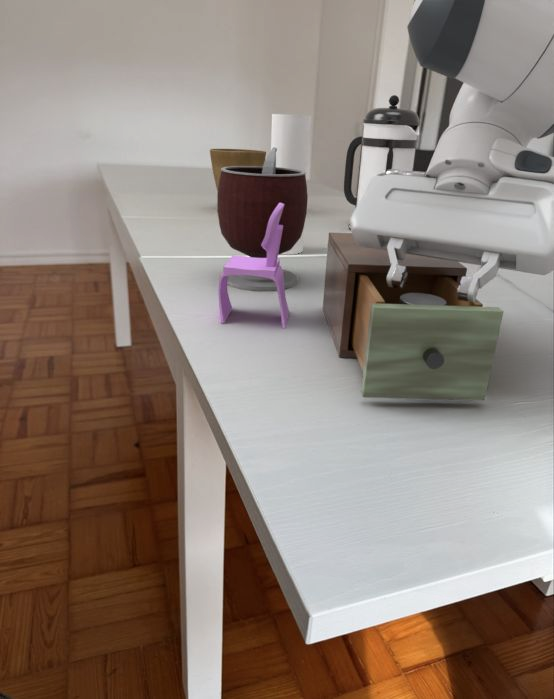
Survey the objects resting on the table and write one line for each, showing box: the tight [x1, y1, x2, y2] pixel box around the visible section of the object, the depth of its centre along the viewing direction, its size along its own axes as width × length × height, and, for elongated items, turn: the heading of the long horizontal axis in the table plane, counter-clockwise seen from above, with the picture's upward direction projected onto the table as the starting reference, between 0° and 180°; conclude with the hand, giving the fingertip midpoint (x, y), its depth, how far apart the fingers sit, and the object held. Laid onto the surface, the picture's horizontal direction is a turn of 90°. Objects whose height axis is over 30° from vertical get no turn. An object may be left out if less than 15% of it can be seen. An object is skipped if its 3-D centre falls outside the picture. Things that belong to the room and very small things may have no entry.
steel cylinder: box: [399, 293, 446, 306], centre depth 54 cm, size 4×4×7 cm
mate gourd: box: [216, 147, 309, 292], centre depth 86 cm, size 16×14×20 cm
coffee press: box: [343, 94, 422, 230], centre depth 128 cm, size 17×16×30 cm
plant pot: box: [209, 148, 267, 192], centre depth 147 cm, size 15×15×16 cm
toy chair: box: [217, 203, 290, 329], centre depth 70 cm, size 8×9×15 cm
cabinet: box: [322, 232, 468, 359], centre depth 68 cm, size 17×13×11 cm
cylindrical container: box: [270, 113, 312, 256], centre depth 105 cm, size 7×7×25 cm
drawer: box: [349, 272, 504, 401], centre depth 56 cm, size 17×12×9 cm
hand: (428, 291), depth 52 cm, fingers open, 5 cm apart
